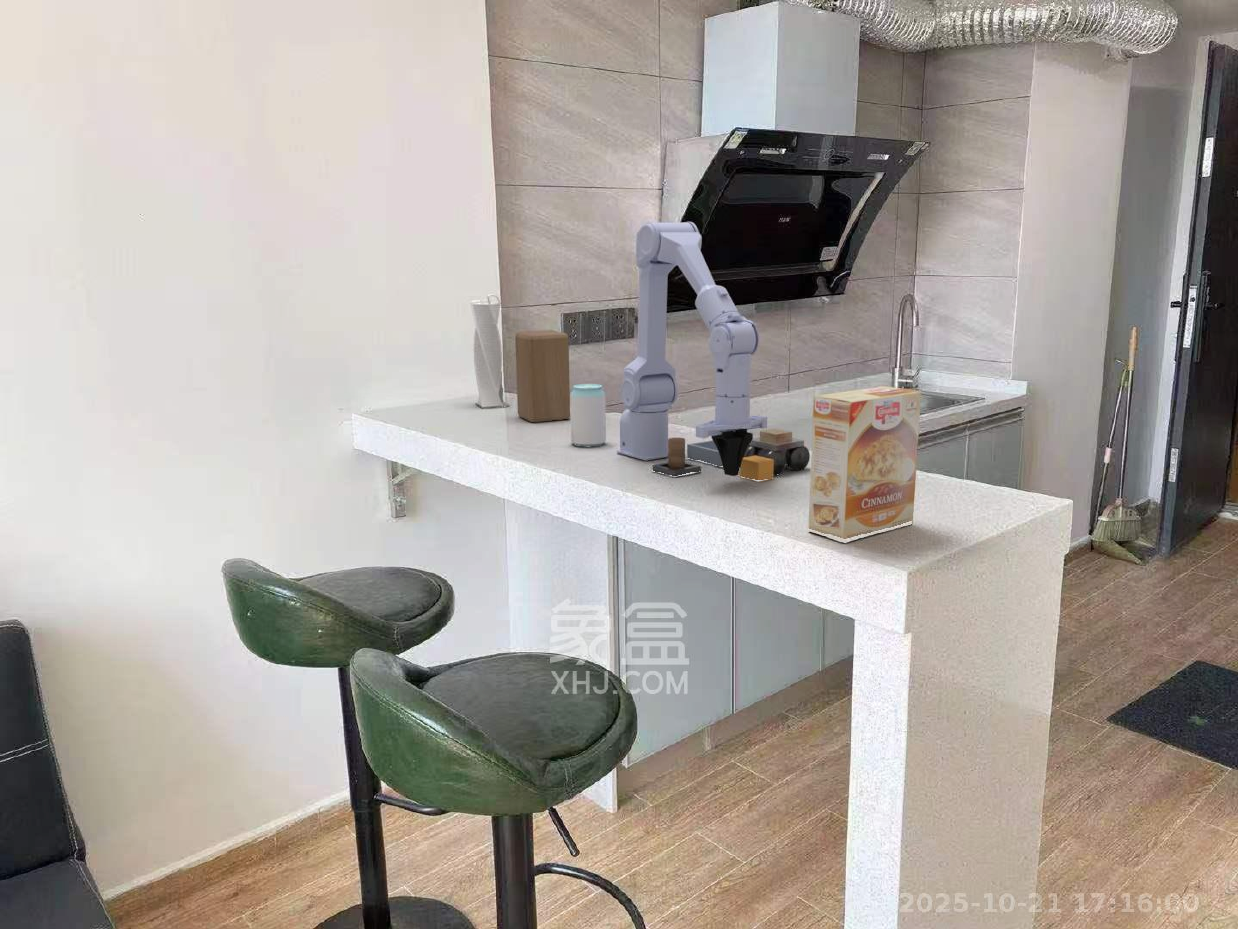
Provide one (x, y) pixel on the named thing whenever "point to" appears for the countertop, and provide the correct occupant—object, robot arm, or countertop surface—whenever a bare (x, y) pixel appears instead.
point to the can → (588, 415)
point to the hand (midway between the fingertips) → (731, 474)
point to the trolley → (779, 450)
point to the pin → (676, 453)
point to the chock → (757, 468)
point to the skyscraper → (488, 353)
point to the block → (542, 375)
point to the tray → (704, 452)
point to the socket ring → (664, 469)
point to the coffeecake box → (863, 460)
